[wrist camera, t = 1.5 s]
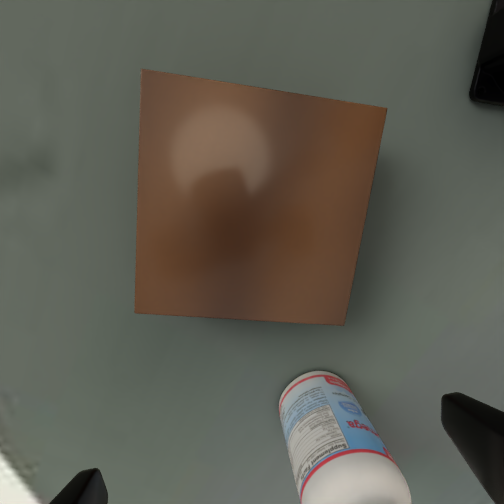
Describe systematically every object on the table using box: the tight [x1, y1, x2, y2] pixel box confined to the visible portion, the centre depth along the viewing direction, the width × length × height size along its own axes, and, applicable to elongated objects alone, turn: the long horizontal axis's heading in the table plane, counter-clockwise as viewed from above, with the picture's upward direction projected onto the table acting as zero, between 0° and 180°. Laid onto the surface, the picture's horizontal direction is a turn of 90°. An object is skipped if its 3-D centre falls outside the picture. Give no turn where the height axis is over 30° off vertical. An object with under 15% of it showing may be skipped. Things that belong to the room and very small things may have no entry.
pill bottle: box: [279, 371, 411, 504], centre depth 18 cm, size 6×6×11 cm
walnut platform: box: [135, 69, 387, 326], centre depth 18 cm, size 13×13×4 cm
